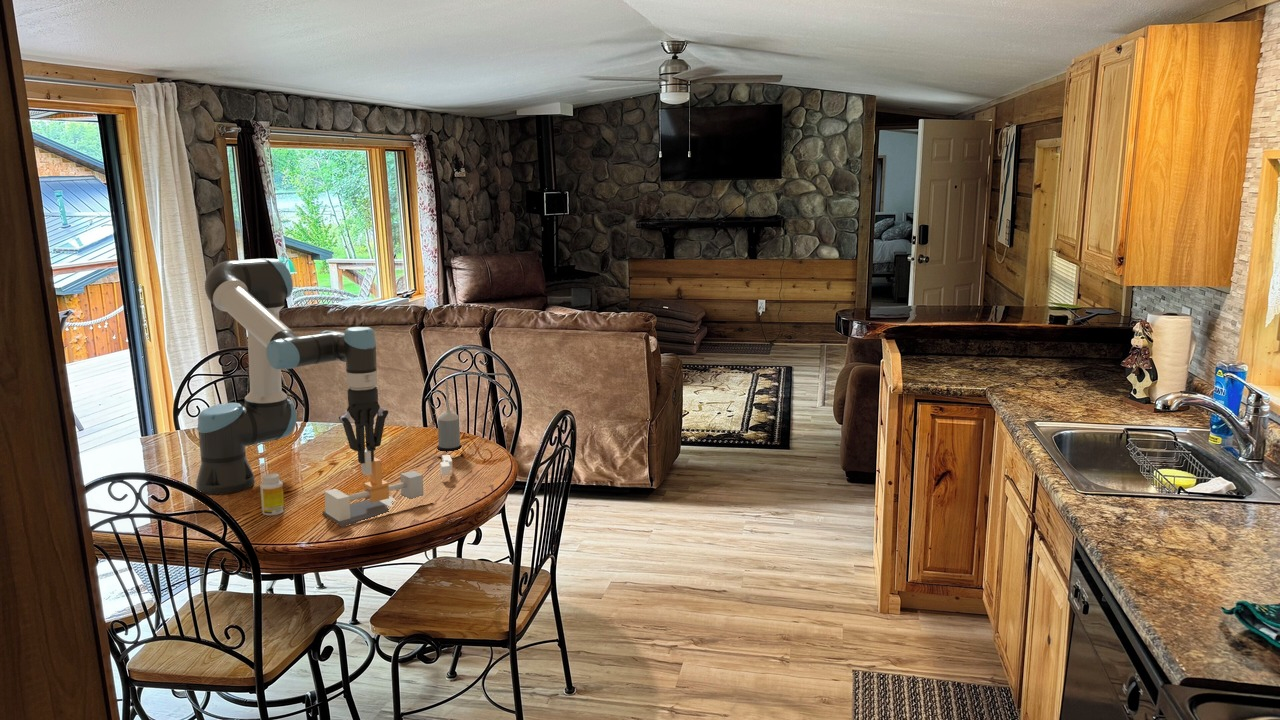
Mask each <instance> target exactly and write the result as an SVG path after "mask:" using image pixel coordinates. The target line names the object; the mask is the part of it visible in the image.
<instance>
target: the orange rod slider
mask: <svg viewBox="0 0 1280 720" xmlns="http://www.w3.org/2000/svg"><path fill="white" fill-rule="evenodd" d="M371 468H372V475H369V481H368V482H364V483H363V487H364V489H363V490H364V491H368V490H370V496H369V497H365V498H364V499H365V500H369V499H370V502H371V503H373V502H377V501H381V500H385V499H389V494H390V491H389V485H390V483H389V482H388V481H386V480H384V479H383V473H382V472H383V471H382V469H383V468H382V460H381V459H380V458H377V457H375V456H374V461H372V462H371ZM364 491H363V492H364Z"/></svg>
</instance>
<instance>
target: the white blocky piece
mask: <svg viewBox="0 0 1280 720" xmlns="http://www.w3.org/2000/svg"><path fill="white" fill-rule="evenodd" d="M439 465H440V475H441V474H442V476H443V475H444V476H445V475H450V470H451V469H452V470H453V458H451V457H450V455H442V458H441V461H440V462H439Z"/></svg>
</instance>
